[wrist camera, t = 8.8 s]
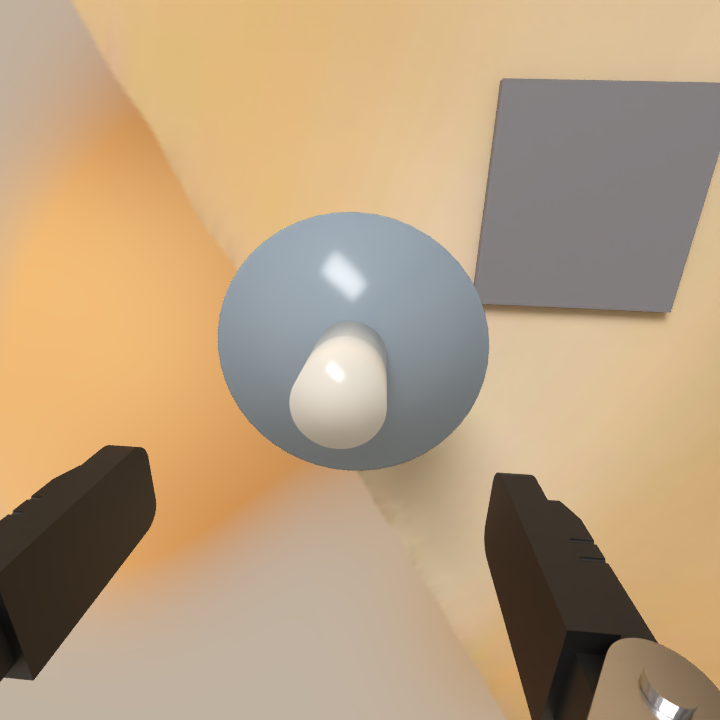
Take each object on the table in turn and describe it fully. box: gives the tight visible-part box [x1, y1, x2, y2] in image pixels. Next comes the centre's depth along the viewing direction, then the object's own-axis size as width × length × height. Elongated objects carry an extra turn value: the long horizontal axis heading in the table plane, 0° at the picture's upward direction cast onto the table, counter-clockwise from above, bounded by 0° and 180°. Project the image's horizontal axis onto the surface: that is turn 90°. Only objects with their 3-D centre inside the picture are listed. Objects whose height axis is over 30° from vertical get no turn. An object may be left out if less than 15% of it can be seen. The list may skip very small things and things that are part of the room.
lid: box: [218, 212, 489, 471], centre depth 16 cm, size 12×12×6 cm
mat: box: [474, 78, 720, 312], centre depth 27 cm, size 14×14×1 cm
